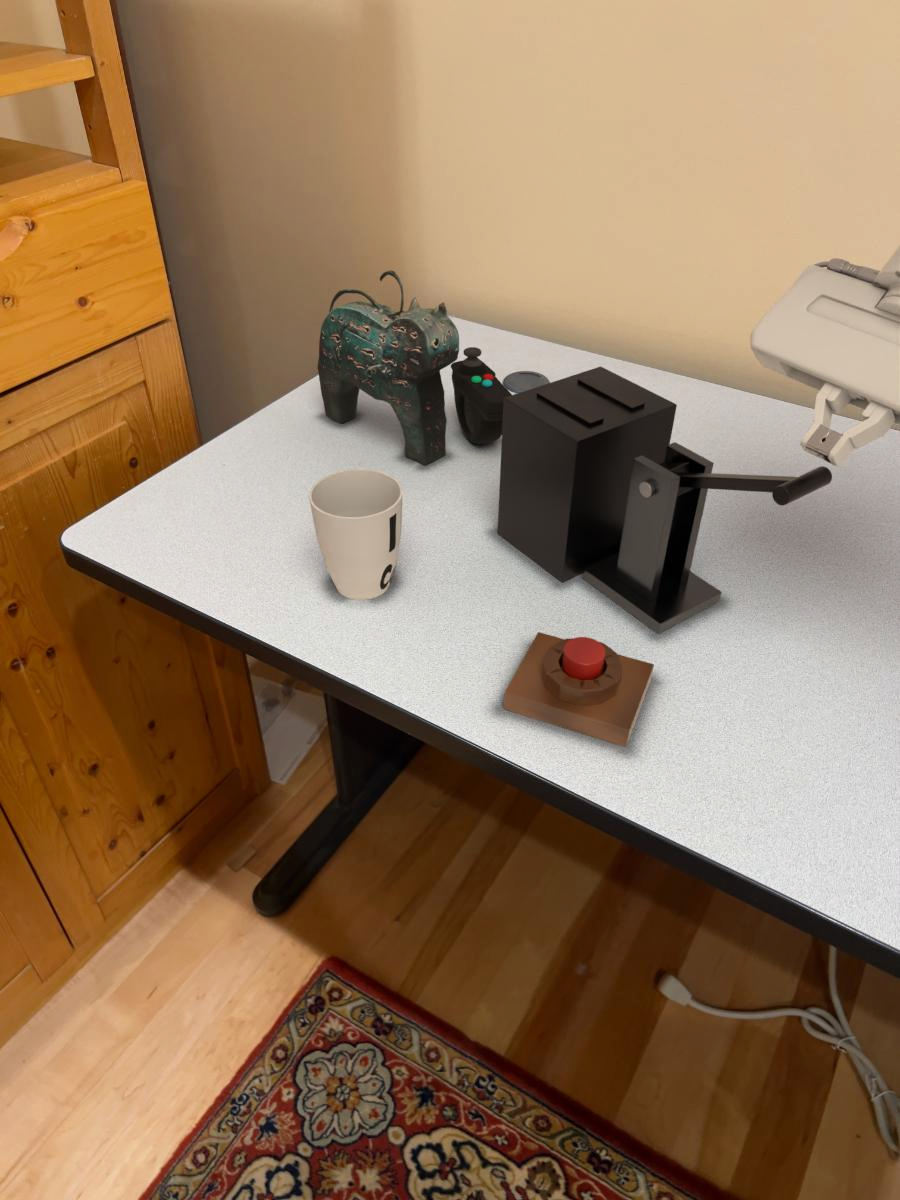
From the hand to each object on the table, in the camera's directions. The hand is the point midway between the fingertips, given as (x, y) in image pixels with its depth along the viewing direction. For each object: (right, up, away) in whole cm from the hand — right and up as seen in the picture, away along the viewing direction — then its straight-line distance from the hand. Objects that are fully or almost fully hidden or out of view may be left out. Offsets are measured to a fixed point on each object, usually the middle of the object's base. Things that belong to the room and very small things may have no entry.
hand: (818, 455), depth 63 cm
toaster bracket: (-8, -9, +19) cm, 23 cm away
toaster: (-14, -4, +26) cm, 30 cm away
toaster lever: (-4, -2, +7) cm, 8 cm away
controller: (-23, +8, +41) cm, 48 cm away
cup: (-35, -9, +20) cm, 41 cm away
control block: (-16, -18, +8) cm, 26 cm away
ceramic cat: (-34, +9, +42) cm, 55 cm away
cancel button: (-16, -16, +7) cm, 23 cm away
